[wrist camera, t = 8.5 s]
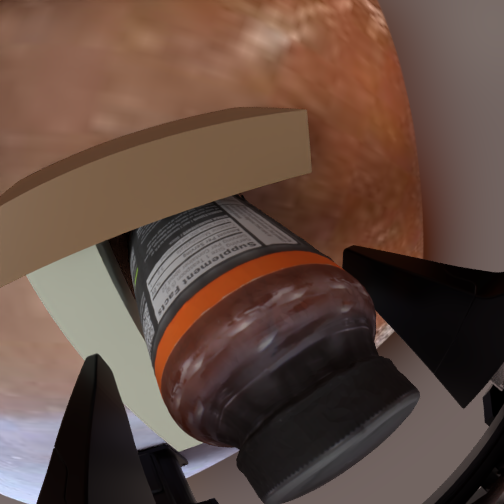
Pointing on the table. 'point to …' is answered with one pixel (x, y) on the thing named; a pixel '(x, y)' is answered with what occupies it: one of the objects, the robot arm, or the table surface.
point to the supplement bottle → (263, 346)
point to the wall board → (134, 226)
